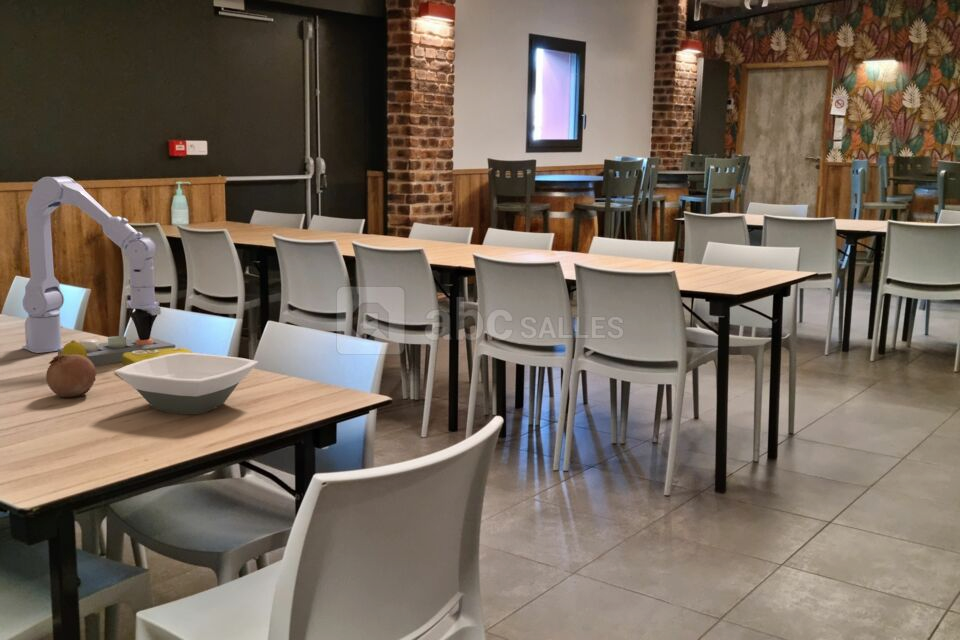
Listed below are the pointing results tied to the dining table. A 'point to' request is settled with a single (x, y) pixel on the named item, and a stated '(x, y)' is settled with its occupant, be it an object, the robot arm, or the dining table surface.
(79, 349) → the lemon
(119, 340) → the button sage
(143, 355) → the element tile
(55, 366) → the onion
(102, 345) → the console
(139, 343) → the button terracotta
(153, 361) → the bowl
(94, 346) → the button ivory
